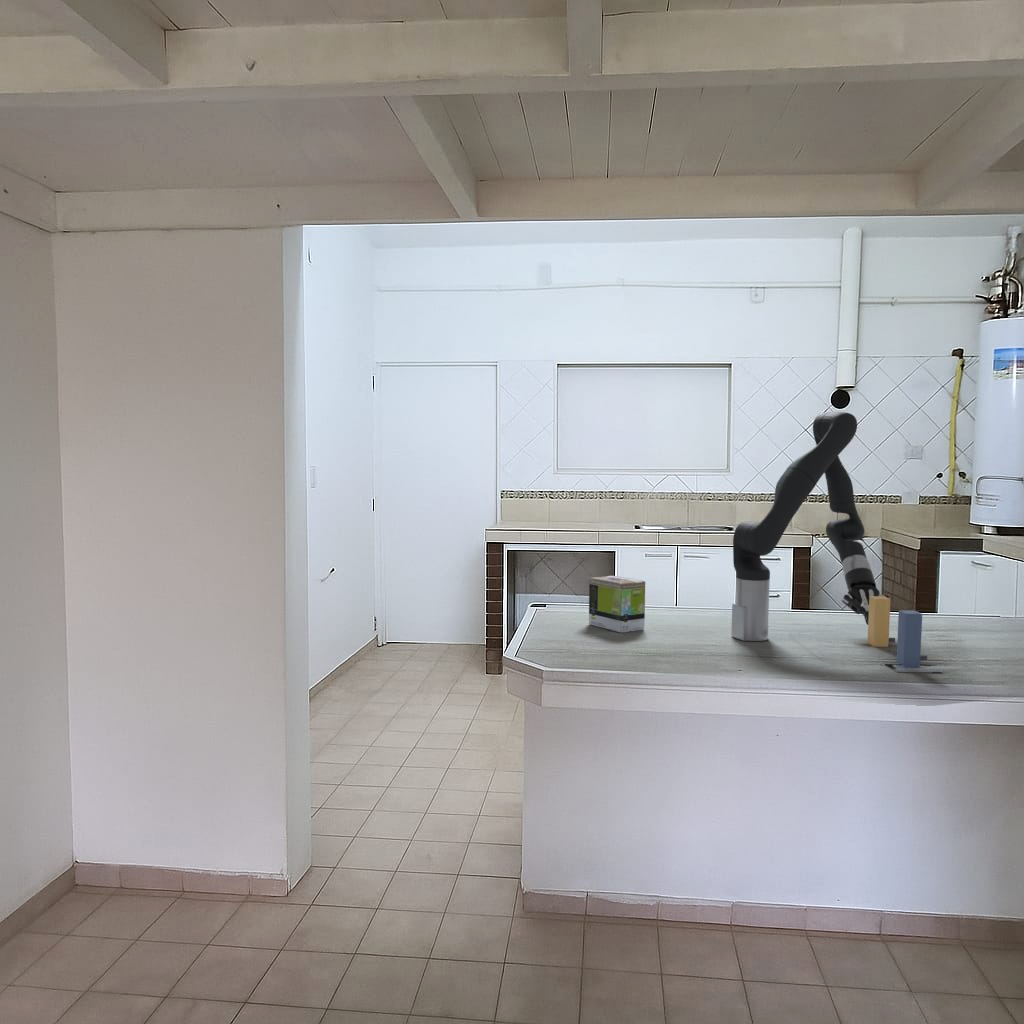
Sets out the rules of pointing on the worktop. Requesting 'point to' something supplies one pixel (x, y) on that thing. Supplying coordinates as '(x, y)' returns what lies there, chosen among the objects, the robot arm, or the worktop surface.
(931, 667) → the bolt plate
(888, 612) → the block
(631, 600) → the tea box
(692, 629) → the worktop surface
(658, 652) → the worktop surface
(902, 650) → the fixed leg
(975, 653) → the worktop surface
